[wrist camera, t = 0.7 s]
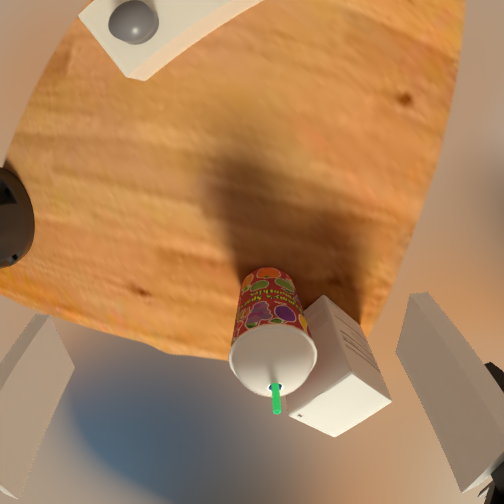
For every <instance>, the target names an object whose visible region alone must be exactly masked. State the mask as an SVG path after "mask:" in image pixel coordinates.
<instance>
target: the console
mask: <svg viewBox="0 0 504 504" xmlns="http://www.w3.org/2000/svg"><path fill="white" fill-rule="evenodd" d="M127 1H130V0H94V1H93V2H92V3H91V4H90V5H88V6H87V7H86V8H85V9H84V10H83V11H82V12H81V13H80V14H79V15H78V17H79V18H80V19H81V20H82V22H83V23H84V24H85V26H86V27H87V28H88V29H89V31H90V32H91V33H92V34H93V36H94V37H95V38H96V39H97V41H98V42H99V43H100V44H101V46H102V47H103V48H104V50H105V51H106V52H107V53H108V55H109V56H110V57H111V58H112V60H113V61H114V62H115V63H116V65H117V66H118V67H119V69H120V70H121V71H122V72H123V74H124V75H125V76H126V77H128V78H133V79H138V80H142V81H146V80H147V79H149V78H150V77H151V76H152V75H153V74H155V73H156V72H157V71H158V70H160V69H161V68H162V67H163V66H165V65H166V64H167V63H169V62H170V61H171V60H173V59H174V58H175V57H176V56H178V55H179V54H180V53H182V52H183V51H185V50H186V49H187V48H189V47H190V46H191V45H193V44H194V43H196V42H197V41H199V40H200V39H201V38H203V37H204V36H206V35H207V34H209V33H210V32H212V31H213V30H215V29H216V28H218V27H219V26H221V25H223V24H224V23H226V22H227V21H229V20H230V19H232V18H234V17H235V16H237V15H239V14H240V13H242V12H244V11H245V10H247V9H249V8H251V7H252V6H254V5H256V4H258V3H259V2H261V1H263V0H139V1H142V2H144V3H145V4H146V5H148V6H149V7H150V8H151V9H152V10H153V11H154V12H155V13H156V14H157V16H158V18H159V27H158V30H157V32H156V33H155V35H154V36H153V37H152V38H151V39H150V40H148V41H147V42H145V43H142V44H138V45H132V44H128V43H126V42H124V41H122V40H120V39H117V38H115V37H114V36H113V35H112V34H111V33H110V31H109V28H108V22H109V18H110V16H111V14H112V12H113V11H114V10H115V9H116V8H117V7H118V6H119V5H121V4H122V3H124V2H127Z"/></svg>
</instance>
